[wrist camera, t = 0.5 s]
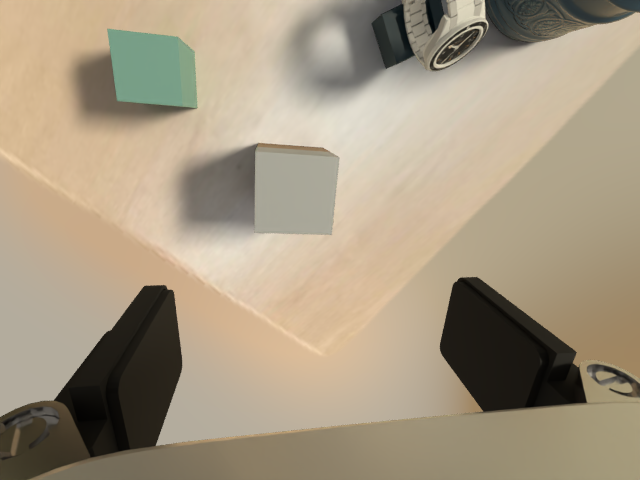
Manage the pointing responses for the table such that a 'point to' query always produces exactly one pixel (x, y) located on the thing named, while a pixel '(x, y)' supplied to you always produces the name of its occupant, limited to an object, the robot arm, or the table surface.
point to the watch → (430, 32)
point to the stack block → (152, 69)
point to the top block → (294, 191)
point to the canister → (554, 16)
